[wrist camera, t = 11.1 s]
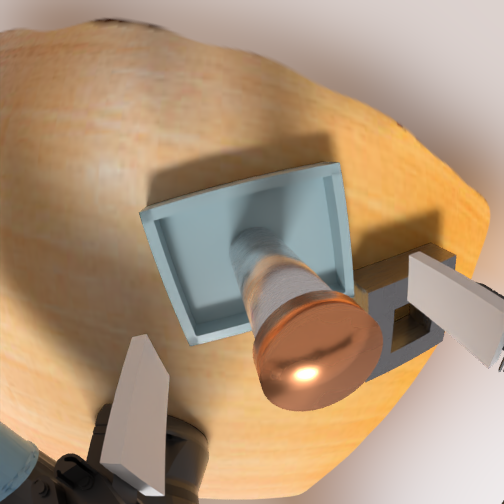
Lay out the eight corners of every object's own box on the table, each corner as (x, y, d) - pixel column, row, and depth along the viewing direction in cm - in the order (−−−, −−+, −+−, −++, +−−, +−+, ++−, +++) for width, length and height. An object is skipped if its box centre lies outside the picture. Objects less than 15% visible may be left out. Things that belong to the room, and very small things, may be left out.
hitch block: (349, 359, 28) (365, 382, 24) (345, 273, 24) (368, 293, 20) (423, 324, 28) (442, 341, 25) (430, 242, 25) (456, 255, 21)
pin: (233, 288, 21) (274, 424, 9) (217, 232, 20) (246, 339, 8) (290, 271, 22) (378, 383, 10) (278, 215, 20) (384, 290, 8)
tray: (190, 328, 23) (189, 346, 21) (146, 206, 19) (138, 212, 17) (341, 284, 24) (354, 297, 22) (325, 161, 20) (339, 162, 18)
